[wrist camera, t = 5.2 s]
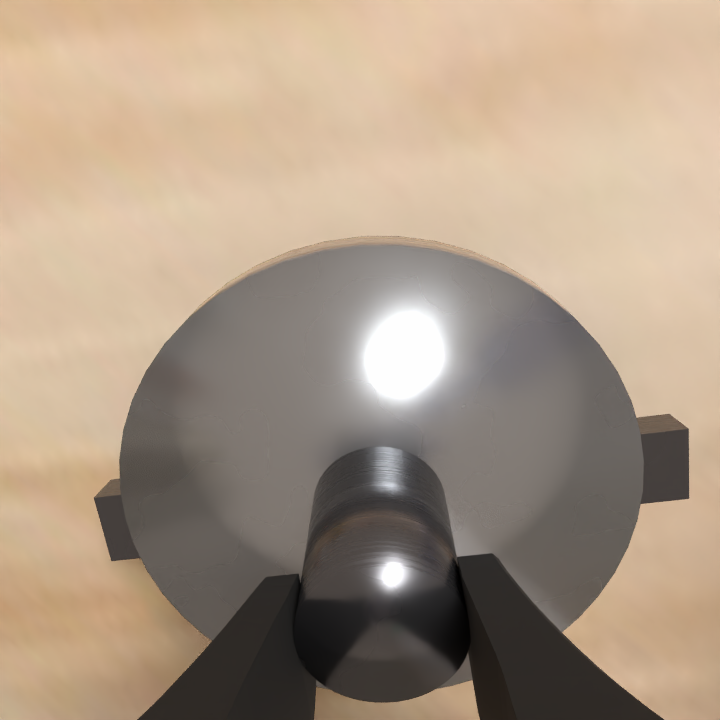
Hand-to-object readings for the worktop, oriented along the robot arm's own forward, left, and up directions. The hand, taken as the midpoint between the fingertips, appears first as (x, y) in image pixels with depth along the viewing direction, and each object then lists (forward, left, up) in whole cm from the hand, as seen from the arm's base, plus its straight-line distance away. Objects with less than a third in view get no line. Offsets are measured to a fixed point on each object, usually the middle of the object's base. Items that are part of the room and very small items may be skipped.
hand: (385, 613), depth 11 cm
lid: (0, -1, -3) cm, 4 cm away
